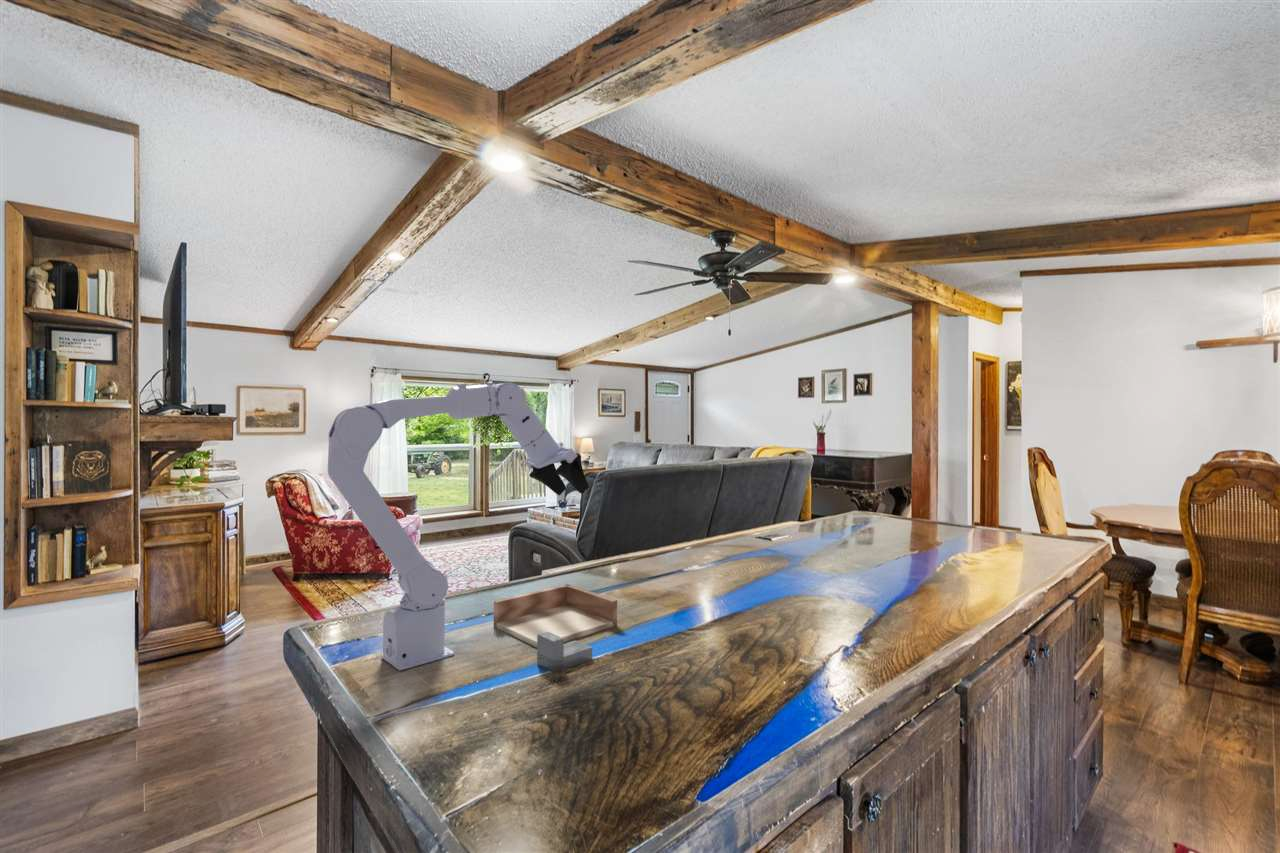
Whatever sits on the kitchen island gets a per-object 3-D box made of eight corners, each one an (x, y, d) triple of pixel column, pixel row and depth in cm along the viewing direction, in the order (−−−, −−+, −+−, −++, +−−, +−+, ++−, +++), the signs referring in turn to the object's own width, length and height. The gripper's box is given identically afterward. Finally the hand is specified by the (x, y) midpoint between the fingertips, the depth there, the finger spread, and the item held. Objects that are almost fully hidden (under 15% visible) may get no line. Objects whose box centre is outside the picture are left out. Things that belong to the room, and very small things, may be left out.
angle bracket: (553, 673, 92) (553, 641, 92) (537, 664, 95) (537, 634, 95) (592, 659, 98) (592, 629, 98) (575, 651, 101) (575, 623, 101)
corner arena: (540, 649, 102) (541, 621, 102) (493, 626, 113) (493, 601, 113) (617, 625, 114) (617, 600, 114) (567, 607, 126) (567, 584, 126)
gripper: (568, 419, 107) (607, 475, 111) (527, 429, 117) (564, 479, 122) (544, 443, 103) (586, 500, 107) (503, 451, 113) (543, 502, 118)
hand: (573, 491), depth 114 cm, fingers open, 7 cm apart
